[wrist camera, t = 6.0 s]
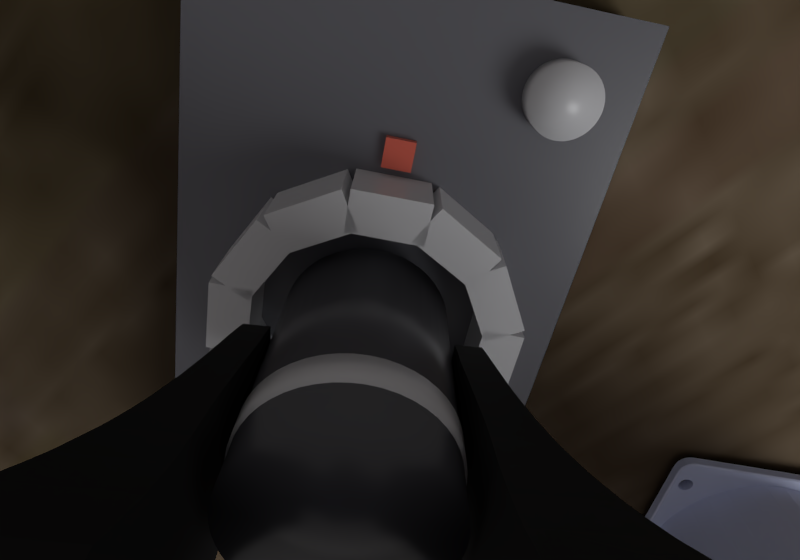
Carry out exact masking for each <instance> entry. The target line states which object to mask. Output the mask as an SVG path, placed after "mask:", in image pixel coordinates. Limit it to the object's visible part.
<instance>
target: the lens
mask: <svg viewBox="0 0 800 560" xmlns="http://www.w3.org/2000/svg"><path fill="white" fill-rule="evenodd" d="M467 476H468V470H467V460H466V452H465V444H464V436H463V430H462V426H461V423H460V420H459V417H458V409H457V401H456V392H455V384H454V375H453V366H452V358H451V349H450V341H449V332H448V323H447V315H446V308H445V304H444V301H443V298H442V296H441V294H440V291H439V290H438V288H437V287H436V285H435V283H434V282H433V281H432V280H431V278H430V277H429V276H428V275H427V274H426V273H425V272H424V271H423V270H422V269H420V268H419V267H418V266H416V265H415V264H413V263H412V262H410V261H408V260H406V259H405V258H403V257H400V256H398V255H395V254H393V253H389V252H385V251H381V250H374V249H352V250H345V251H341V252H336V253H334V254H331V255H328V256H326V257H324V258H322V259H320V260H318V261H316V262H315V263H314V264H312V265H311V266H309V267H308V268H307V269H306V270H305V271H304V272H303V273H302V274H301V275H300V276H299V277H298V279H297V280H296V281H295V283H294V284H293V286H292V288H291V290H290V292H289V295H288V297H287V300H286V302H285V305H284V308H283V310H282V313H281V315H280V318H279V320H278V323H277V326H276V328H275V331H274V333H273V336H272V339H271V341H270V344H269V346H268V349H267V351H266V354H265V357H264V359H263V362H262V364H261V367H260V369H259V372H258V375H257V377H256V380H255V382H254V385H253V388H252V390H251V393H250V394H249V396H248V397H247V399H246V401H245V402H244V404H243V406H242V408H241V410H240V413H239V415H238V418H237V421H236V423H235V426H234V428H233V431H232V433H231V436H230V438H229V441H228V444H227V447H226V452H225V458H224V462H223V465H222V468H221V470H220V473H219V475H218V478H217V481H216V483H215V486H214V488H213V491H212V494H211V496H210V499H209V506H208V525H209V529H210V534H211V536H212V539H213V541H214V544H215V546H216V548H217V549H218V551H219V552H220V554H221V556H222V557H223V558H224V559H225V560H462V558H463V556H464V554H465V551H466V549H467V546H468V543H469V539H470V531H471V522H470V512H469V504H468V495H467Z"/></svg>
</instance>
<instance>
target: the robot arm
mask: <svg viewBox="0 0 800 560" xmlns="http://www.w3.org/2000/svg"><path fill="white" fill-rule="evenodd" d="M270 341H271V326H261V325H251V324H242V325H240V326H239V327H238V328H237V329H235V330H234V331H233V332H232V333H230V334H229V335H228V336H227V337H226V338H225V339H223V340H222V341H221V342H220V343H219V344H218V345H216V346H215V347H214V348H213V349H212V350H210V351H209V352H208V353H207V354H206V355H204V356H203V357H202V358H201V359H199V360H198V361H197V362H196V363H194V364H193V365H192V366H191V367H189V368H188V369H187V370H186V371H184V372H183V373H182V374H180V375H179V376H178V377H176V378H175V379H174V380H172V381H171V382H169V383H168V384H167V385H165V386H164V387H162V388H161V389H160V390H158V391H157V392H155V393H154V394H153V395H151V396H150V397H148V398H147V399H145V400H144V401H142V402H140V403H139V404H137V405H136V406H134V407H132V408H131V409H129V410H127V411H126V412H124V413H122V414H120V415H119V416H117V417H115V418H114V419H112V420H110V421H108V422H107V423H105V424H103V425H101V426H99V427H97V428H95V429H93V430H91V431H89V432H87V433H85V434H83V435H81V436H79V437H77V438H75V439H73V440H71V441H69V442H67V443H65V444H63V445H61V446H59V447H57V448H55V449H52V450H50V451H48V452H46V453H43V454H41V455H39V456H36V457H34V458H32V459H29V460H27V461H25V462H22V463H19V464H17V465H14V466H12V467H9V468H7V469H4V470H2V471H0V560H215V558H216V555H217V551H218V549H217V548H216V546H215V544H214V541H213V539H212V536H211V534H210V529H209V525H208V506H209V499H210V496H211V494H212V491H213V488H214V486H215V483H216V481H217V478H218V475H219V473H220V470H221V468H222V465H223V462H224V458H225V452H226V447H227V444H228V441H229V438H230V436H231V433H232V431H233V428H234V426H235V423H236V421H237V418H238V415H239V413H240V410H241V408H242V406H243V404H244V402H245V401H246V399H247V397H248V396H249V394H250V393H251V390H252V388H253V385H254V382H255V380H256V377H257V375H258V372H259V369H260V367H261V364H262V362H263V359H264V357H265V354H266V351H267V349H268V346H269V344H270ZM452 366H453V375H454V384H455V392H456V401H457V409H458V417H459V420H460V423H461V426H462V430H463V436H464V444H465V452H466V460H467V470H468V476H467V495H468V504H469V512H470V522H471V531H470V539H469V543H468V546H467V549H466V551H465V554H464V556H463V558H462V560H800V475H799V474H792V473H786V472H780V471H774V470H768V469H761V468H755V467H749V466H743V465H737V464H730V463H724V462H718V461H712V460H706V459H700V458H693V457H687V458H683V459H681V460H679V461H678V462H677V463H676V464H675V465H674V467H673V468H672V470H671V472H670V474H669V475H668V477H667V479H666V481H665V482H664V484H663V486H662V488H661V489H660V491H659V493H658V495H657V496H656V498H655V500H654V502H653V503H652V505H651V507H650V509H649V510H648V512H647V514H646V516H645V517H644V516H643V515H642V514H640V513H639V512H638V511H636V510H635V509H633V508H632V507H631V506H629V505H628V504H627V503H625V502H624V501H623V500H621V499H620V498H619V497H618V496H616V495H615V494H614V493H613V492H611V491H610V490H609V489H608V488H606V487H605V486H604V485H603V484H602V483H600V482H599V481H598V480H597V479H595V478H594V477H593V476H592V475H591V474H590V473H589V472H587V471H586V470H585V469H584V468H583V467H582V466H581V465H580V464H579V463H578V462H577V461H576V460H574V459H573V458H572V457H571V456H570V455H569V454H568V453H567V452H566V451H565V450H564V449H563V448H562V447H561V446H560V445H559V444H558V443H557V442H556V441H555V440H554V439H553V438H552V437H551V436H550V435H549V434H548V432H547V431H546V430H545V429H544V428H543V427H542V426H541V425H540V424H539V422H538V421H537V420H536V419H535V418H534V417H533V415H532V414H531V413H530V412H529V411H528V409H527V408H526V407H525V405H524V404H523V403H522V402H521V400H520V399H519V398H518V397H517V395H516V394H515V393H514V391H513V390H512V389H511V387H510V386H509V385H508V383H507V382H506V380H505V379H504V378H503V376H502V375H501V373H500V372H499V371H498V369H497V368H496V366H495V365H494V363H493V362H492V361H491V359H490V358H489V356H488V355H487V353H486V352H485V351H484V349H483V348H482V347H472V346H462V345H455V346H454V351H453V357H452ZM683 480H684V481H683Z"/></svg>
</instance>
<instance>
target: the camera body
mask: <svg viewBox="0 0 800 560" xmlns="http://www.w3.org/2000/svg"><path fill="white" fill-rule="evenodd" d="M668 29H669V26H665V25H661V24H656V23H652V22H647V21H643V20H638V19H634V18H629V17H625V16H620V15H616V14H611V13H607V12H602V11H598V10H594V9H589V8H585V7H580V6H576V5H571V4H567V3H562V2H558V1H553V0H181V23H180V89H179V155H178V222H177V288H176V354H175V378H176V377H178V376H179V375H180V374H182V373H183V372H184V371H186V370H187V369H188V368H189V367H191V366H192V365H193V364H194V363H196V362H197V361H198V360H199V359H201V358H202V357H203V356H204V355H206V354H207V353H208V352H209V351H210V350H212V349H213V348H214V347H215V346H216V345H218V344H219V343H220V342H221V341H222V340H223V339H225V338H226V337H227V336H228V335H229V334H230V333H232V332H233V331H234V330H235V329H237V328H238V327H239V326H240V325H242V324H251V325H261V326H271V339H272V336H273V333H274V331H275V328H276V326H277V323H278V320H279V318H280V315H281V313H282V310H283V308H284V305H285V302H286V300H287V297H288V295H289V292H290V290H291V288H292V286H293V284H294V283H295V281H296V280H297V279H298V277H299V276H300V275H301V274H302V273H303V272H304V271H305V270H306V269H307V268H308V267H309V266H311V265H312V264H314V263H315V262H316V261H318V260H320V259H322V258H324V257H326V256H328V255H331V254H334V253H336V252H341V251H345V250H352V249H374V250H381V251H385V252H389V253H393V254H395V255H398V256H400V257H403V258H405V259H406V260H408V261H410V262H412V263H413V264H415V265H416V266H418V267H419V268H420V269H422V270H423V271H424V272H425V273H426V274H427V275H428V276H429V277H430V278H431V280H432V281H433V282H434V283H435V285H436V287H437V288H438V290H439V291H440V294H441V296H442V298H443V301H444V304H445V308H446V315H447V323H448V332H449V341H450V349H451V358H452V357H453V351H454V346H455V345H462V346H472V347H482V348H483V349H484V351H485V352H486V353H487V355H488V356H489V358H490V359H491V361H492V362H493V363H494V365H495V366H496V368H497V369H498V371H499V372H500V373H501V375H502V376H503V378H504V379H505V380H506V382H507V383H508V385H509V386H510V387H511V389H512V390H513V391H514V393H515V394H516V395H517V397H518V398H519V399H520V400H521V402H522V403H523V404H524V405H526V402H527V399H528V397H529V394H530V391H531V389H532V386H533V384H534V381H535V378H536V376H537V373H538V370H539V368H540V365H541V363H542V360H543V357H544V355H545V352H546V349H547V347H548V344H549V342H550V339H551V336H552V334H553V331H554V328H555V326H556V323H557V320H558V318H559V315H560V313H561V310H562V307H563V305H564V302H565V299H566V297H567V294H568V292H569V289H570V286H571V284H572V281H573V278H574V276H575V273H576V271H577V268H578V265H579V263H580V260H581V257H582V255H583V252H584V249H585V247H586V244H587V242H588V239H589V236H590V234H591V231H592V228H593V226H594V223H595V221H596V218H597V215H598V213H599V210H600V207H601V205H602V202H603V199H604V197H605V194H606V192H607V189H608V186H609V184H610V181H611V178H612V176H613V173H614V171H615V168H616V165H617V163H618V160H619V157H620V155H621V152H622V150H623V147H624V144H625V142H626V139H627V136H628V134H629V131H630V128H631V126H632V123H633V121H634V118H635V115H636V113H637V110H638V107H639V105H640V102H641V100H642V97H643V94H644V92H645V89H646V86H647V84H648V81H649V78H650V76H651V73H652V71H653V68H654V65H655V63H656V60H657V57H658V55H659V52H660V50H661V47H662V44H663V42H664V39H665V36H666V34H667V31H668Z"/></svg>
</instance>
